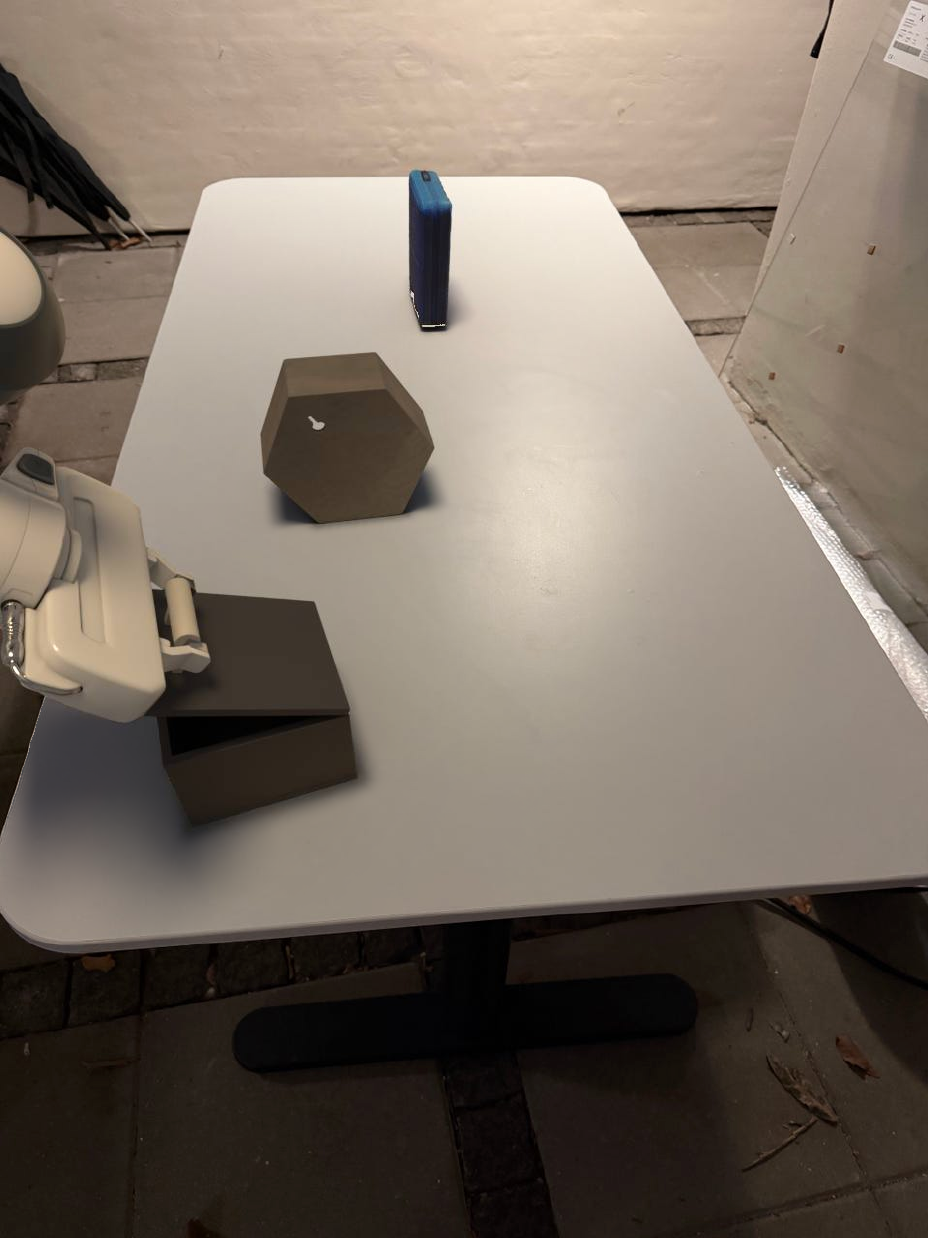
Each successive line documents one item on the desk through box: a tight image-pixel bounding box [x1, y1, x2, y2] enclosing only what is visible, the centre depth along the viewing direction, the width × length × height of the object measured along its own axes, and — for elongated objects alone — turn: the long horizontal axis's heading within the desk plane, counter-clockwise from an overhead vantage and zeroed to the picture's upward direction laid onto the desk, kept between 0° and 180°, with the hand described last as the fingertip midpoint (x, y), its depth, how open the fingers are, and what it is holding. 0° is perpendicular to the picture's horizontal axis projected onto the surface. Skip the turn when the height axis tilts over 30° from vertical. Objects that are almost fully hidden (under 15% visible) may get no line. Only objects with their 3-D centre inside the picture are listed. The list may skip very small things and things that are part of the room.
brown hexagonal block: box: [259, 351, 435, 524], centre depth 90 cm, size 17×8×21 cm
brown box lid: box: [143, 578, 351, 718], centre depth 61 cm, size 16×13×5 cm
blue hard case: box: [408, 169, 453, 329], centre depth 122 cm, size 14×5×20 cm, turn 11°
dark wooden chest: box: [155, 713, 358, 828], centre depth 68 cm, size 15×13×10 cm
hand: (197, 623), depth 58 cm, fingers closed on brown box lid, 6 cm apart
